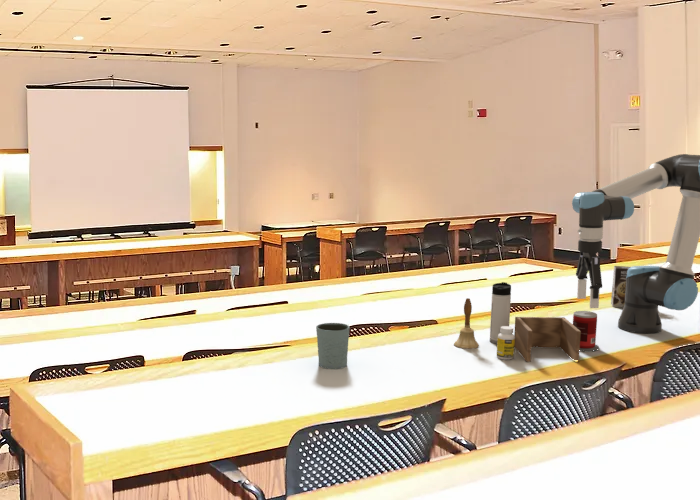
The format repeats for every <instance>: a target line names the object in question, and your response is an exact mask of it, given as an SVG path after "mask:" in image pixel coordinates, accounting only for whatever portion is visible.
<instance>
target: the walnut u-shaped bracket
mask: <svg viewBox="0 0 700 500" xmlns="http://www.w3.org/2000/svg"><path fill="white" fill-rule="evenodd" d="M514 319H515V320H514V331H513V335H514V336H515V346H514V349H516V351H517V352H518V353H519V355H520V356H521V357H522V358H523V359H524V360H525V362H526V363H528V362H529V363H531V359H532V358H531V357H532V348H550V349H552V348H558V349H559V348H560V350H562V351H563V352H564V354H566V355H567V356H568V357H569V356H570V357H571V358H572V359H574V360H579V361H580V351H579V350H580V334H581V331H580V330H579V329H577V328H576V327H575V326H574V325H573V323H571V322H570V320H568V319H567V318H565V316H563V317H561V316H560V317H559V316H557V317H556V316H553V317H552V316H551V317H549V316H515V318H514ZM570 357H569V358H570ZM571 358H570V359H571ZM572 359H571V360H572Z"/></svg>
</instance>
